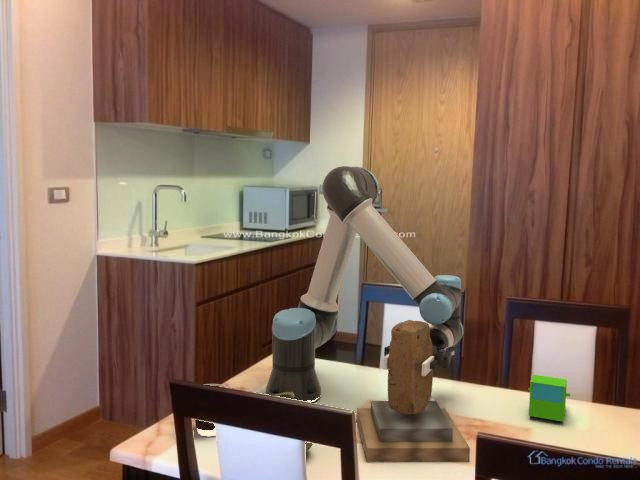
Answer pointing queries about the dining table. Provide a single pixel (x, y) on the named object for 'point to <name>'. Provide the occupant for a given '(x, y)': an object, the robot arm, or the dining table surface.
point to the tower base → (409, 447)
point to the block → (409, 367)
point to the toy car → (547, 397)
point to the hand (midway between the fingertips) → (404, 366)
